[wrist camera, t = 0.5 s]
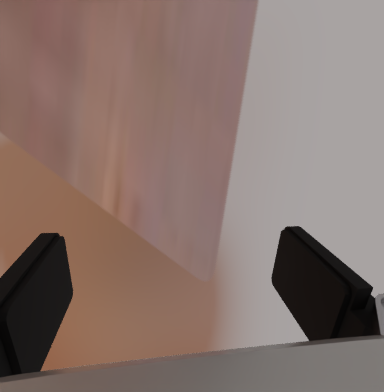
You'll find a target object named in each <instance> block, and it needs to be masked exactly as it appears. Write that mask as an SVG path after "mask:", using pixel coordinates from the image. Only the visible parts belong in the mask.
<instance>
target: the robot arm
mask: <svg viewBox="0 0 384 392" xmlns="http://www.w3.org/2000/svg"><path fill="white" fill-rule="evenodd" d="M272 284H273V286H274V288H275V289H276V291H277V292H278V294H279V295H280V297H281V298H282V300H283V301H284V303H285V304H286V306H287V307H288V309H289V310H290V312H291V313H292V315H293V317H294V318H295V320H296V321H297V323H298V324H299V326H300V327H301V329H302V330H303V332H304V333H305V335H306V336H307V338H308V339H309V341H306V342H296V343H286V344H277V345H267V346H257V347H248V348H238V349H229V350H220V351H212V352H201V353H192V354H183V355H175V356H165V357H157V358H148V359H139V360H130V361H122V362H113V363H104V364H96V365H87V366H79V367H71V368H63V369H56V370H48V371H40V370H41V368H42V366H43V364H44V361H45V359H46V357H47V354H48V352H49V350H50V348H51V345H52V343H53V341H54V338H55V336H56V334H57V331H58V329H59V327H60V324H61V322H62V320H63V318H64V315H65V313H66V311H67V309H68V306H69V304H70V302H71V299H72V296H73V288H72V282H71V276H70V269H69V264H68V257H67V251H66V245H65V239H64V237H63V236H60V235H59V234H58V233H41V234H40V235H39V236H38V237H37V238H36V239H35V240H34V241H33V242H32V244H31V245H30V246H29V247H28V248H27V249H26V250H25V251H24V252H23V253H22V255H21V256H20V257H19V258H18V259H17V260H16V261H15V262H14V263H13V264H12V266H11V267H10V268H9V269H8V270H7V271H6V272H5V273H4V274H3V276H2V277H1V278H0V392H384V294H379V295H377V296H376V297H375V298H374V297H373V296H372V295H371V292H372V290H373V287H372V286H371V285H370V284H368V283H367V282H366V281H365V280H364V279H362V278H361V277H360V276H359V275H358V274H356V273H355V272H354V271H353V270H352V269H350V268H349V267H348V266H347V265H346V264H344V263H343V262H342V261H341V260H339V259H338V258H337V257H336V256H334V255H333V254H332V253H331V252H330V251H329V250H328V249H326V248H325V247H324V246H323V245H321V244H320V243H319V242H318V241H317V240H315V239H314V238H313V237H312V236H311V235H309V234H308V233H307V232H306V231H305V230H303V229H302V228H301V227H299V226H294V227H285V229H284V230H282V231H281V234H280V239H279V244H278V249H277V254H276V259H275V263H274V268H273V273H272Z"/></svg>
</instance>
